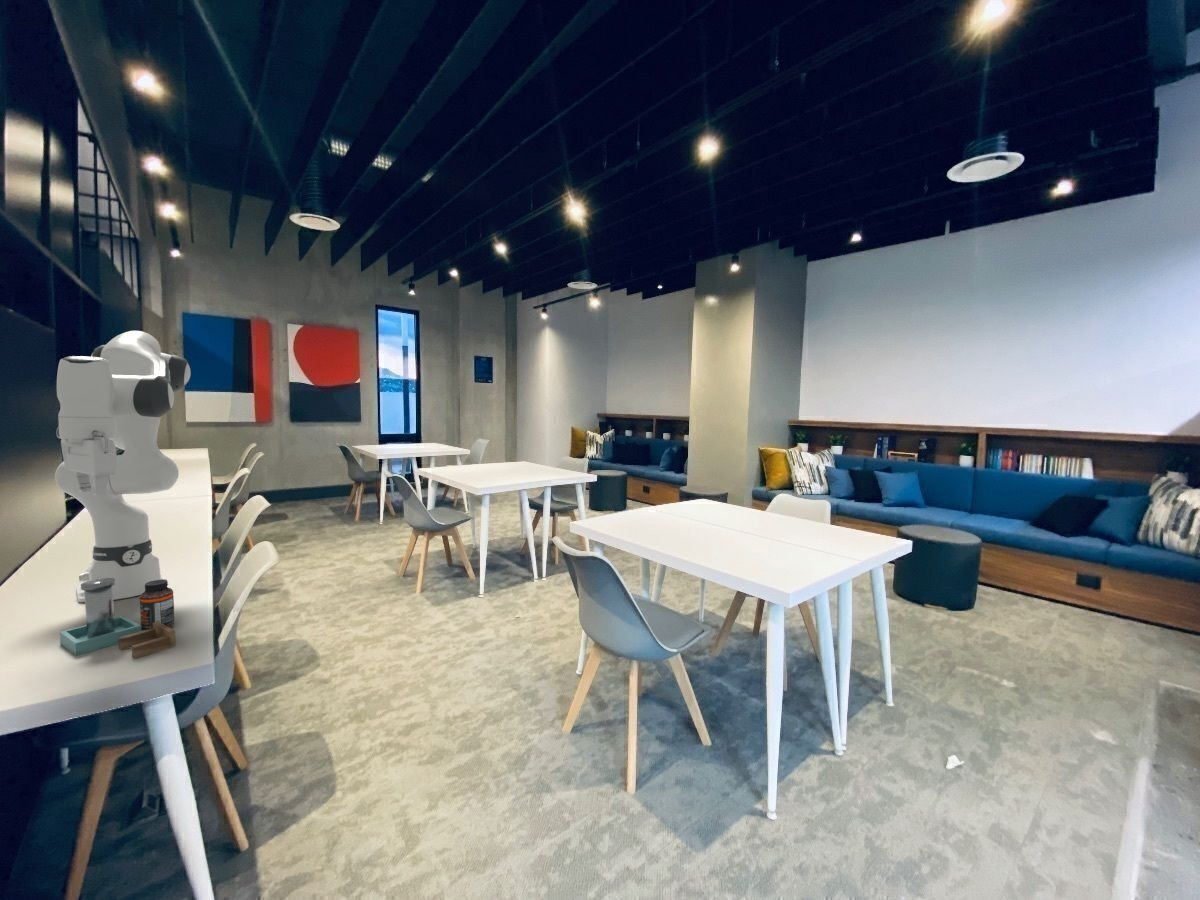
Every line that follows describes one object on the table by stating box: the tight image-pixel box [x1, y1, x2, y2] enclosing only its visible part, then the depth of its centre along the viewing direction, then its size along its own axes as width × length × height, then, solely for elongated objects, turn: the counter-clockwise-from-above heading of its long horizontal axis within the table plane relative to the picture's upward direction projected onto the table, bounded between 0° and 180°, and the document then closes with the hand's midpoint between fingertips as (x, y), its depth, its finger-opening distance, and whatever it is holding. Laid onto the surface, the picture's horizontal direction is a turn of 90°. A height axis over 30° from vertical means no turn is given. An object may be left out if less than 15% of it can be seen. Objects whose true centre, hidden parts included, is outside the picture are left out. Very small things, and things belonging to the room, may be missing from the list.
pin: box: [80, 578, 115, 639], centre depth 111 cm, size 5×5×12 cm
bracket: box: [118, 621, 176, 660], centre depth 108 cm, size 9×7×4 cm
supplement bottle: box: [139, 579, 175, 631], centre depth 118 cm, size 6×6×11 cm
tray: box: [59, 615, 142, 656], centre depth 112 cm, size 11×11×3 cm
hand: (92, 493), depth 110 cm, fingers open, 8 cm apart
